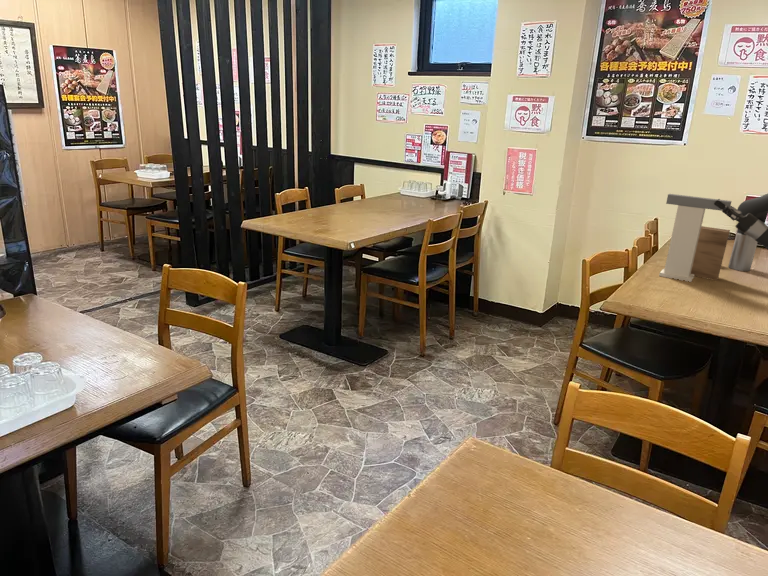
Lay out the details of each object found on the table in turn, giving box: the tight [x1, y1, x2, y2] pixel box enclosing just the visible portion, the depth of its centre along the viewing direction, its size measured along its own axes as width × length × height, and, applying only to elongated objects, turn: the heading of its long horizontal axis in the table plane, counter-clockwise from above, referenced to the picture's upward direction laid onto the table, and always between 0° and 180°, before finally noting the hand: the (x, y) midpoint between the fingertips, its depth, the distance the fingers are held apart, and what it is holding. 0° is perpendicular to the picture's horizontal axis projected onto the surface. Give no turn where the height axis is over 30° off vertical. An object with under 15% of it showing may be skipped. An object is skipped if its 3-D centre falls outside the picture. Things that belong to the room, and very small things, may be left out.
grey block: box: [665, 193, 732, 212], centre depth 242 cm, size 4×24×4 cm, turn 55°
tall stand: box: [659, 205, 706, 283], centre depth 249 cm, size 9×13×32 cm
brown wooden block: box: [691, 225, 731, 281], centre depth 255 cm, size 6×18×22 cm, turn 55°
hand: (716, 201), depth 238 cm, fingers closed on grey block, 4 cm apart
